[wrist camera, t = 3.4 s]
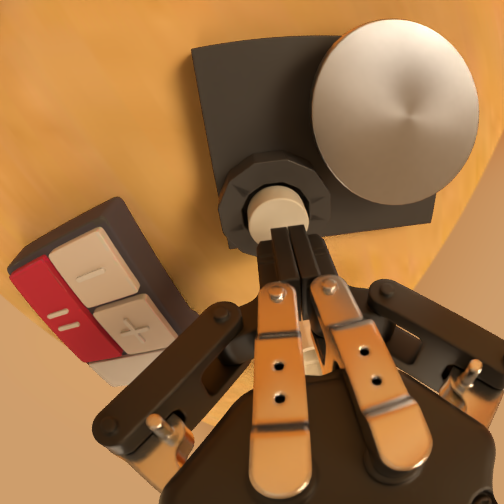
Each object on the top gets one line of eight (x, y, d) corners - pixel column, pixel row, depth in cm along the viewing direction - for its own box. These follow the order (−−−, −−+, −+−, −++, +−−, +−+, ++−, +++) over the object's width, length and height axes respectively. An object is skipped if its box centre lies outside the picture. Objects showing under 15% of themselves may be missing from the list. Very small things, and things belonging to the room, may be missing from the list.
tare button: (251, 237, 17) (252, 254, 16) (243, 189, 16) (244, 203, 14) (304, 230, 17) (309, 246, 16) (301, 181, 15) (308, 194, 14)
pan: (313, 209, 16) (316, 214, 16) (298, 13, 10) (301, 12, 10) (462, 194, 16) (467, 199, 15) (473, 36, 10) (480, 37, 9)
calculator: (98, 221, 15) (214, 379, 23) (123, 189, 18) (216, 339, 26) (-1, 275, 17) (110, 393, 25) (26, 243, 20) (120, 359, 28)
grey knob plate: (229, 237, 20) (229, 265, 18) (194, 49, 13) (185, 48, 11) (422, 213, 20) (442, 235, 17) (432, 46, 13) (461, 49, 10)
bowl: (274, 349, 28) (279, 390, 24) (269, 306, 24) (275, 352, 21) (337, 339, 28) (348, 378, 24) (342, 295, 24) (357, 338, 21)
